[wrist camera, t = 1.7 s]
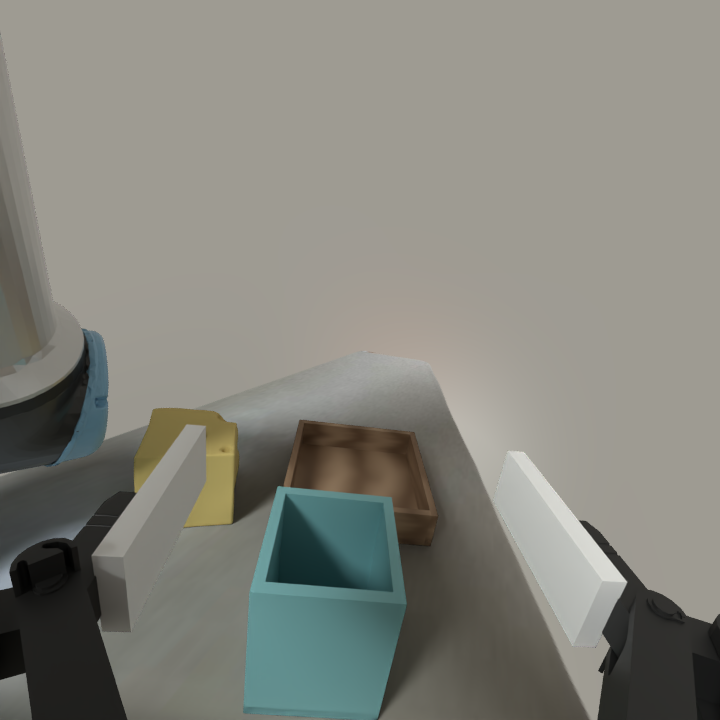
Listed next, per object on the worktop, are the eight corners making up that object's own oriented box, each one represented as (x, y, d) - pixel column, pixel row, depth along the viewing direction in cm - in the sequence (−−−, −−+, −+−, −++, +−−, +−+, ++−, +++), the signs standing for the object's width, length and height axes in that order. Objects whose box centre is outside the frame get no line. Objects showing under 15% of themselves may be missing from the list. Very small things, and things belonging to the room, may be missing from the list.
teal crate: (243, 713, 29) (249, 592, 24) (269, 589, 38) (277, 486, 34) (377, 720, 29) (406, 604, 25) (370, 597, 39) (391, 497, 34)
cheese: (238, 470, 54) (240, 406, 50) (235, 529, 44) (237, 456, 41) (156, 473, 51) (152, 406, 48) (133, 537, 42) (125, 459, 38)
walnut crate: (277, 532, 45) (279, 501, 43) (297, 444, 61) (299, 419, 60) (430, 546, 46) (438, 516, 44) (409, 456, 63) (414, 432, 61)
